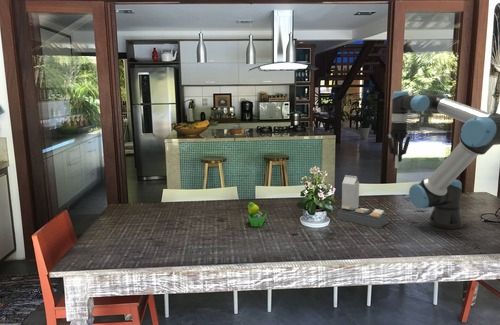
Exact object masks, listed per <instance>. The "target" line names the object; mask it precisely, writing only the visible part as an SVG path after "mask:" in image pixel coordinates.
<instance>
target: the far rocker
mask: <svg viewBox="0 0 500 325" xmlns="http://www.w3.org/2000/svg"><path fill="white" fill-rule="evenodd" d="M342 208H345V209H350V210H354V209H355V207H350V206H344V205H343V206H342V205H341V209H342Z"/></svg>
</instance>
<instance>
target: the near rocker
mask: <svg viewBox="0 0 500 325" xmlns="http://www.w3.org/2000/svg"><path fill="white" fill-rule="evenodd" d="M382 214H385V210H383V209H377V208H375V209H373V212H372V213H371V214H370V216H373V217H378V218H379V217H380V216H381V215H382Z"/></svg>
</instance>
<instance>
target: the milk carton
mask: <svg viewBox="0 0 500 325" xmlns="http://www.w3.org/2000/svg"><path fill="white" fill-rule="evenodd" d="M341 185H342V186H341V209H343V208H342V206H343V205H344V206H350V207H355V208H358V209H359V205H360V204H359V200H360V198H359V197H360V181H359V179H358V176H356V175H347V174H345V175H344V178H343V181H342V183H341Z"/></svg>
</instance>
